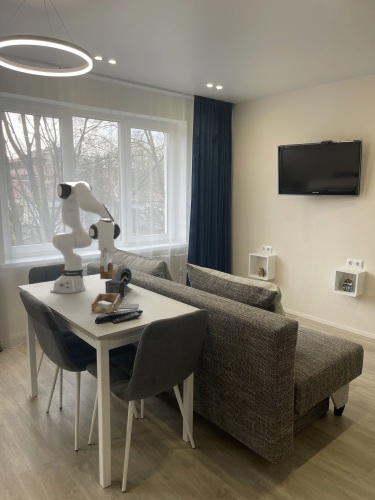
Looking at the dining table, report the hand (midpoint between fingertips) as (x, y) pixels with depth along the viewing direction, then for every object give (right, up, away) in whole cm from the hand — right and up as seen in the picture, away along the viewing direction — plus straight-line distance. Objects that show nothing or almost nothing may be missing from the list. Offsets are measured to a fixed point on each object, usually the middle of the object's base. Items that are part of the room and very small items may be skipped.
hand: (106, 270), depth 212 cm
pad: (+13, -21, +2) cm, 25 cm away
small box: (+1, -18, +20) cm, 27 cm away
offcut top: (0, -20, -6) cm, 21 cm away
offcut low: (0, -22, -6) cm, 23 cm away
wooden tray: (0, -21, +1) cm, 21 cm away
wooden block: (0, -5, +1) cm, 5 cm away
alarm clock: (+2, -16, +37) cm, 40 cm away
